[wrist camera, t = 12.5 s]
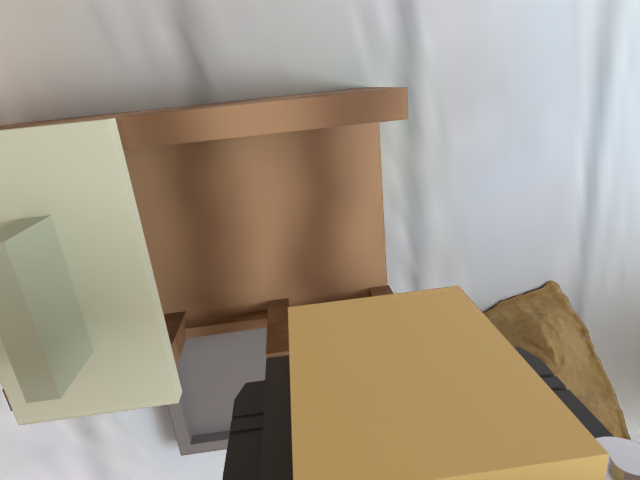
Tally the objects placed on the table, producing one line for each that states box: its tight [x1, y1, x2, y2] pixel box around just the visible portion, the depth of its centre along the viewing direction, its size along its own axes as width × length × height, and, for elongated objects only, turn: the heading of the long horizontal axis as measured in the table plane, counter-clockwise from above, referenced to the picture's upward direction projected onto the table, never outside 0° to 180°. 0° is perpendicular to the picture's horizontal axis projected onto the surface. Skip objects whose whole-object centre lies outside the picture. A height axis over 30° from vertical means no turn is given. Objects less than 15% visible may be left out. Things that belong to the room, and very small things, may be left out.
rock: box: [483, 281, 631, 440], centre depth 27 cm, size 11×9×10 cm
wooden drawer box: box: [0, 87, 408, 411], centre depth 22 cm, size 19×12×8 cm, turn 96°
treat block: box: [288, 286, 609, 480], centre depth 8 cm, size 4×4×5 cm
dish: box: [168, 328, 267, 456], centre depth 29 cm, size 9×9×1 cm
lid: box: [0, 118, 182, 425], centre depth 16 cm, size 7×12×4 cm, turn 6°
